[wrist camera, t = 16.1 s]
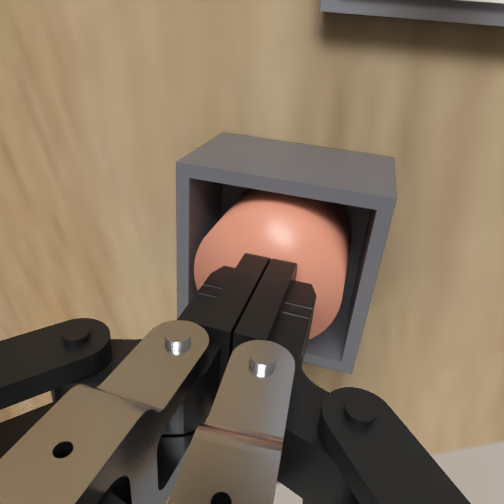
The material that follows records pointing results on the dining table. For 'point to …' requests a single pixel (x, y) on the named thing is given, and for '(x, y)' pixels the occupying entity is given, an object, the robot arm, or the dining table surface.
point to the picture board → (424, 10)
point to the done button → (284, 244)
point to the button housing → (296, 184)
